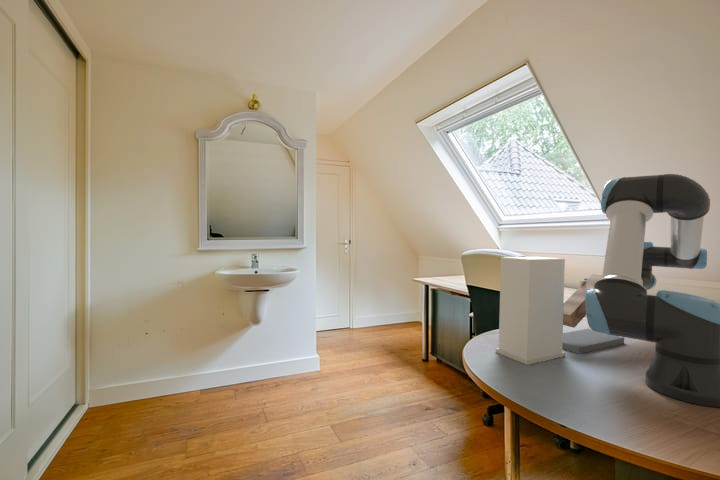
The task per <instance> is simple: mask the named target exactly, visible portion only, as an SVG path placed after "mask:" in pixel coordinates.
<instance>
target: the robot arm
mask: <svg viewBox="0 0 720 480" xmlns="http://www.w3.org/2000/svg"><path fill="white" fill-rule="evenodd" d="M603 187H604V188H603V190H602V193H601V200H600V202H601V203H600V210H601V213H603V214H605V216H606V217H607V219H608V220H610V222H609V228H608V234H607V241H606V242H607V243H606V249H605V253H604V254H605V255H604V263H603V269H602V274H601V275H602V279H600V280H598V281H596V282H595V284H594V289H592V288H590V289H587V290H586V293H585V306H586V316H585V317H586V320H587V324H588V325H587V326H588V327H589V329H591V330H593V331H596V332H601V333H605V334H608V335H615V336H620V337H624V338H629V339H634V340H639V341H645V342H651V343H655V352H654V356H653V357H652V359H651V361H650V363H649V366H648V369H647V370H646V371H645V376H644V377H645V378H644V379H645V380H644V382H645V385H647V386H648V387H649V388H650V389H652V390H654V391H655V392H657V393H661V394H662V395H664V396H667V397H671V398H673V399H676V400H680V401H683V402H686V403H689V404H690V403H691V404H695V405H700V406H707V407H712V408H713V407H714V408H720V302H718V301H716V300H714V299H710V298H707V297H702V296H700V295H695V294H694V295H693V294H691V293H685V292H679V291H672V290H671V291H670V290H665V289H664V290H658V291H657V292H656V294H655V295H651V294H648V290H651V289H653V288H655V286H656V284H657V278H656V276H655V275H654V274H653V267H657V268H658V267H661V268H676V269H688V270H703V269H705V268H706V267H707V263H708V250H707V249H706V248H701V244H702V236H703V227H704V218H705V216H706V215H707V214H708V213H709V212H710V207H711V199H710V196H709V193H708V192H707V191H706V189H705V188H704V186H702V185H701V184H700V183H699V182H697V181H696V180H694V179H692V178H690V177H687V176H685V175H683V174H682V175H681V174H675V173H664V174H655V175H641V176H628V177H627V176H621V177H618V178H613V179H610V180H608V181H607V182H606V183H605V185H604V186H603ZM657 213H658V214H660V213H661V214H663V213H667V215H668V216H669V217H670V246H669V247H668V246H654V243H653V242H652V241H645V239H646V236H645V235H646V226H647V224H646V223H647V222H649V221H650V220H651V219H652V218H653V216H654V214H657ZM587 279H588V278H584V279H582V280H579V287H580V286H581V285H582V284H583V283H584V282H585V281H586V280H587Z"/></svg>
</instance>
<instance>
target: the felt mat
mask: <svg viewBox="0 0 720 480" xmlns="http://www.w3.org/2000/svg"><path fill="white" fill-rule="evenodd" d="M622 344H625V337H621V336H615V335H608V334H605V333H601V332H596V331H593V330H592V329H591V328H584V329H579V330H574V331H573V330H572V331H567V332H563V338H562V348H563V349H562V350H565V349H566V350H567V351H569V352H571V353H572V352H573V353H576V354H579V353H580V354H584V353H588V352H592V351H593V352H594V351H598V350H601V349H605V348H609V347H615V346H617V345H619V346H620V345H622ZM580 354H579V355H580Z"/></svg>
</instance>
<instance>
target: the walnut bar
mask: <svg viewBox="0 0 720 480" xmlns="http://www.w3.org/2000/svg"><path fill="white" fill-rule="evenodd" d="M586 279H587V280H586V281H585V282H584V283H583V284H582V285H581V286H580V285H579V287H578V288H577V289H576V290H575V291H574V292H573V293H572V294H571V295H570V296H569V298H567V299H566V301H564V304H563V326H566V327H569V328H576V326H577V325H579V323H580V322H582V320H583V319H584V318H585V317H587V316H586V306H585V293H586V290H587V289H590V288H592V289H594V284H595V282H596V281H598V280H600V279H602V274H593V273H592V274H591V275H590V276H589V277H588V278H586Z"/></svg>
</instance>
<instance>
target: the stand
mask: <svg viewBox="0 0 720 480" xmlns="http://www.w3.org/2000/svg"><path fill="white" fill-rule="evenodd" d="M565 262H566V259H565V258H561V257H559V258H558V257H545V256H544V257H543V256H501V257H500V281H499V282H500V283H499V284H500V285H499V287H500V289H499V290H500V291H499V317H498V318H499V319H498V320H499V321H498V323H499V324H498V325H499V326H498V330H499V331H498V347H496V348H495V353H497V354H498V355H501V356H503V357H505V358H509V359H511V360H514V361H517V362H519V363H522V364H523V365H526V366H529V365H533V363H534V364H538V363H541V361H543V362H545V361H546V360H547V361H551V360H554V358H556V359H559V357H560V358H563V356H564V357H566V352H565V351H563V349H562V338H563V333H564V332H563V330H564V325H563V304H564V303H565V301H564V300H565V297H564V295H565V268H566V267H565V265H566V264H565ZM550 359H551V360H550ZM547 361H546V362H547ZM537 362H538V363H537Z"/></svg>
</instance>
